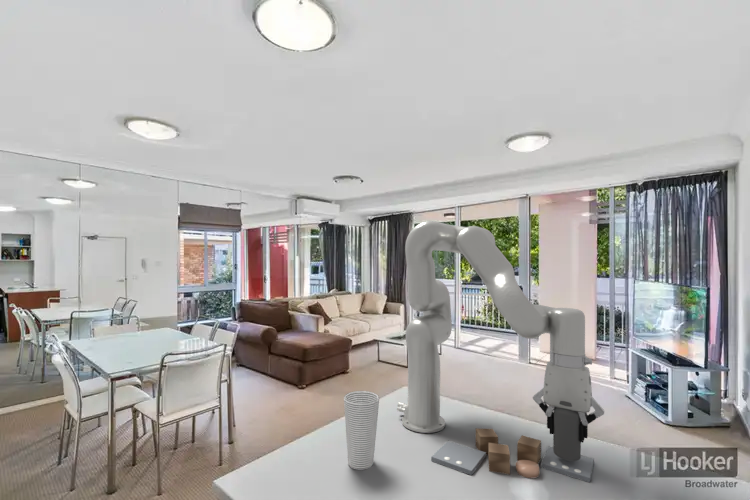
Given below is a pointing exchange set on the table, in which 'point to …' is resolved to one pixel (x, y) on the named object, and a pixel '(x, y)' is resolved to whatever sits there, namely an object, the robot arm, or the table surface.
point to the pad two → (459, 457)
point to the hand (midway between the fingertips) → (566, 435)
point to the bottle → (566, 433)
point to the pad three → (568, 465)
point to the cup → (361, 427)
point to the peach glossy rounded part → (527, 468)
